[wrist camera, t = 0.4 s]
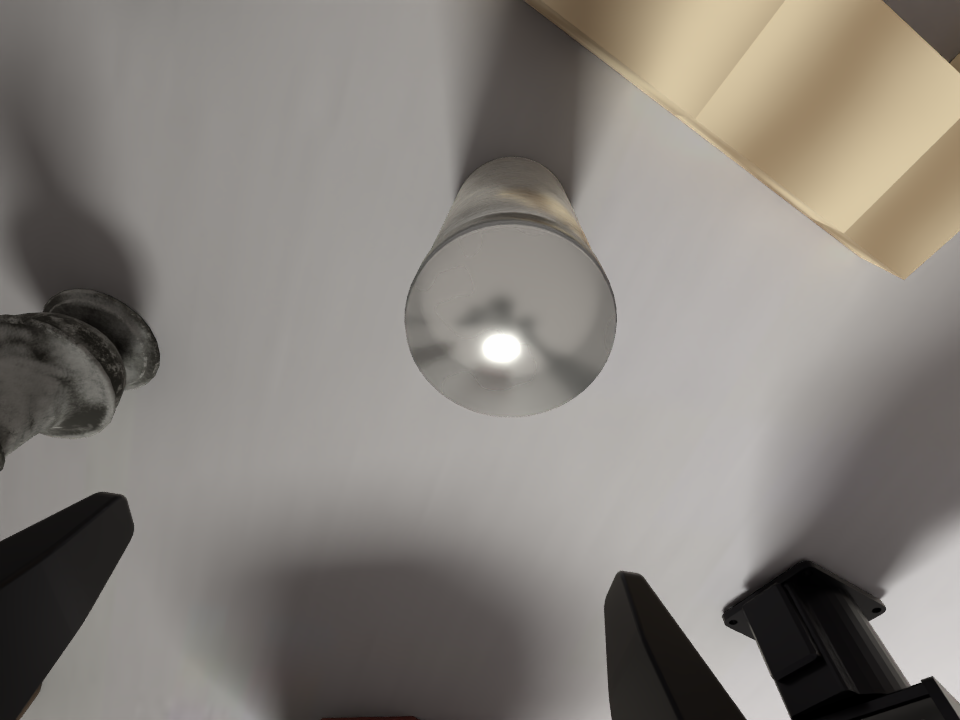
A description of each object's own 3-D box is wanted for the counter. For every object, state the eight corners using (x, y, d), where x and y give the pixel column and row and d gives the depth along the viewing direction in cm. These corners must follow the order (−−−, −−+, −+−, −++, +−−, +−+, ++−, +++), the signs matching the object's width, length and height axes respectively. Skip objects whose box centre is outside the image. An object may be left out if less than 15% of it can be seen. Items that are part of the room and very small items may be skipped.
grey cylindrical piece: (595, 199, 19) (665, 302, 10) (526, 294, 21) (536, 448, 12) (492, 129, 18) (473, 177, 9) (431, 236, 20) (367, 358, 11)
